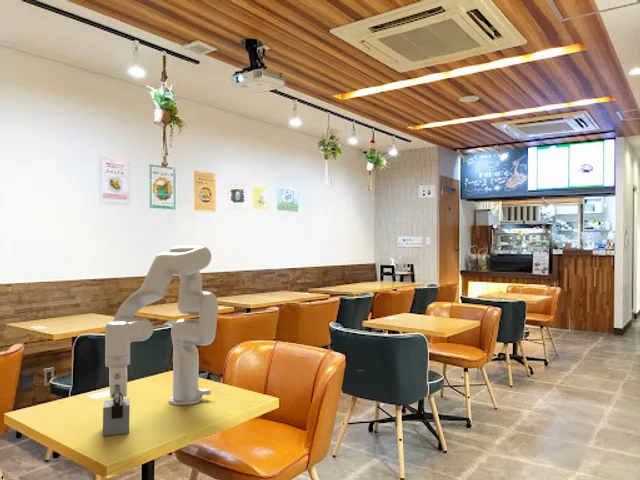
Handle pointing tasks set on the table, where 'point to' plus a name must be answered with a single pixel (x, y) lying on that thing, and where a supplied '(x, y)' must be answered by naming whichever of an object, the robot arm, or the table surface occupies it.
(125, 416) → the grey tapered block
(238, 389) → the table surface
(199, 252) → the robot arm
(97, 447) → the table surface
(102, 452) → the table surface
